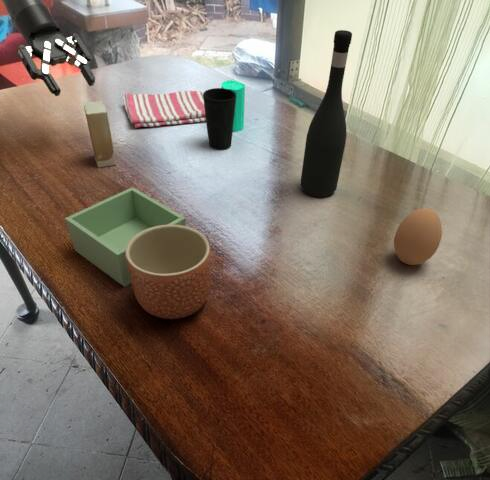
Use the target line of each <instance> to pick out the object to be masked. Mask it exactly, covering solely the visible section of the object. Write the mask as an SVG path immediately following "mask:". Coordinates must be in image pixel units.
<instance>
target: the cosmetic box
mask: <svg viewBox="0 0 490 480" xmlns="http://www.w3.org/2000/svg"><path fill="white" fill-rule="evenodd" d="M83 110H84V114H85V118H86V123H87V128H88V133H89V138H90V142H91V146H92V152H93V155H94V160H95V163H96V165H97V168H104V167H113V166H117V160H116V154H115V148H114V143H113V138H112V131H111V127H110V121H109V114H108V111H107V108H106V106H105V104H104V101H103V100H97V101H87V102H83Z"/></svg>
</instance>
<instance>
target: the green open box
mask: <svg viewBox="0 0 490 480" xmlns="http://www.w3.org/2000/svg"><path fill="white" fill-rule="evenodd" d="M64 221H65V224H66V227H67V230H68V234H69V237H70V240H71V244H72V247H73V250H74V251H75V252H76V253H77V254H79V255H80V256H81V257H83V258H85V259H86V260H87V261H89V263H91V264H92V265H94V266H95V267H97V269H99V270H100V271H102V272H103V273H105V274H106V275H107V276H109V277H110V278H112V279H113V280H114V281H116V282H117V283H118V284H120V286H122V287H124V288H126V287H128V286H129V285H132V282H131V278H130V275H129V271H128V267H127V263H126V257H125V251H126V247H127V244H128V243H129V241H130V240H131V239H132V238H133V237H134V236H135V235H136V234H138V233H139V232H141V231H143V230H145V229H148V228H151V227H155V226H159V225H182V226H186V227H187V219H186V217H185V216H184V215H182V214H180V213H178V212H176V211H175V210H173V209H171V208H169V207H168V206H166V205H164V204H162V202H159V201H158V200H156V199H155V198H152V197H150V196H149V195H147V194H145V193H144V192H142V191H140V190H139V189H137V188H135V187H133V186H132V187H129V188H127V189H125V190H123V191H121V192H118V193H117V194H114V195H112V196H110V197H108V198H105V199H104V200H102V201H100V202H96V203H94V204H93V205H90V206H89V207H86V208H84V209H82V210H80V211H77V212H76V213H73V214H71V215H69V216H67V217H65V218H64Z"/></svg>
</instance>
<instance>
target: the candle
mask: <svg viewBox="0 0 490 480" xmlns="http://www.w3.org/2000/svg"><path fill="white" fill-rule="evenodd" d="M221 88H224V89H229V90H232V91H233V92H235V93H236V103H235V113H234V122H233V132H232V133H235V132H237V133H238V132H240V131H242V130H244V127H245V95H246V94H245V93H246V85H245V83H242V82H240V81H237V80H234V77H232V79H228V80H225V81H223V82H221Z"/></svg>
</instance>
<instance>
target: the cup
mask: <svg viewBox="0 0 490 480" xmlns="http://www.w3.org/2000/svg"><path fill="white" fill-rule="evenodd" d="M202 93H203V99H204V107H205V116H206V121H205V124H206V132H207V133H206V134H207V141H208V147H209V148H210V149H212V150H216V151H225V150H229V149H230V148H231V147H232V142H233V133H234V132H233V122H234V113H235V103H236V93H235V92H233V91H232V90H229V89H224V88H222V87H215V88H208V89H206V90H204V91H203V92H202Z"/></svg>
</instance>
